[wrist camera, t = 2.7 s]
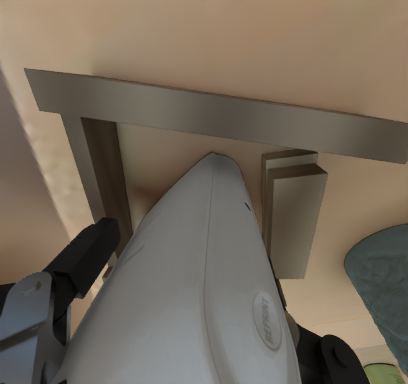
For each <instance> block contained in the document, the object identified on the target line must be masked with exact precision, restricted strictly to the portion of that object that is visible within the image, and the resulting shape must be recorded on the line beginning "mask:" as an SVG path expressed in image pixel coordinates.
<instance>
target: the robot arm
mask: <svg viewBox="0 0 408 384" xmlns="http://www.w3.org/2000/svg"><path fill="white" fill-rule="evenodd" d="M120 240H121V234H120V229H119V225H118V220H117V219H114V218H108V217H102V218H101V219H100V220H99V221H98V222H97V223H96V224H92V225H90V226H88V227H87V228H85V229H83V230H82V231H81V232H80V233H79V234H78V235H77V236H76V238H74V239H73V240H72V241H71V242H70V244H69V245H67V246H66V248H64V249H63V250H62V252H61V253H60V254H59V255H58V256H57V257H56V258H55V259H54V260H53V261H52V262H51V263H50V264H49V265H48V266H47V267H46V268H45V269H44V270H42V271H41V272H36V273H32V274H30V275H28V276H26V277H24V278H22V279H21V280H19V281H18V282H17V283H10V284H5V285H0V384H51V382H52V380H53V379H54V377H55V376H56V374H57V373H58V371H59V370H60V369H61V366H62V363H63V360H64V357H65V354H66V352H67V349H68V346H69V344H70V319H71V318H70V317H71V306H70V303H71V302H72V301H73V299H74V298H80V299H83V298H84V297H85V295H86V294H87V292H88V291H89V289H90V288H91V286H92V285H93V283H94V282H95V280H96V279H97V277H98V276H99V274H100V272H101V271H102V269H103V268H104V266H105V265H106V263H107V262H108V260H109V259H110V257H111V256H112V254H113V253H114V251H115V250H116V248H117V247H118V245H119V243H120ZM267 257H268V260H269V263H270V266H271V270H272V273H273V277H274V280H275V283H276V287H277V290H278V294H279V297H280V300H281V303H282V307H283V310H284V314H285V317H286V320H287V324H288V327H289V330H290V334H291V337H292V341H293V344H294V347H295V351H296V355H297V359H298V366H299V372H300V378H301V384H370V382H369V380H368V378H367V376H366V373H365V371H364V369H363V367H362V365H361V363H360V361H359V359H358V357H357V356H356V354H355V352H354V351H353V350H352V349H351V348H350V346H349V345H348V344H346V343H345V342H344V341H343V340H342V339H340V338H338V337H337V336H334V335H325V336H323V337H320V336H318V335H316V334H315V333H313V332H311V331H309V330H307V329H305V328H303V327H301V326H300V325H299V324H297V323H296V322H295V320H294V319H293V317H292V316H291V315H290V314H289V313H288V312H287V310H286V308H285V305H284V302H283V299H282V296H281V292H280V289H279V285H278V282H277V279H276V277H275V272H274V269H273V265H272V262H271V259H270V257H269V256H268V254H267ZM58 384H67V380H66V379H65V380H63V381H61V382H59V383H58Z"/></svg>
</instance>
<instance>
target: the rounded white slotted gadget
mask: <svg viewBox="0 0 408 384" xmlns="http://www.w3.org/2000/svg"><path fill="white" fill-rule="evenodd" d="M65 379H66V380H67V384H301V378H300V372H299V366H298V359H297V355H296V351H295V347H294V344H293V341H292V337H291V334H290V330H289V327H288V324H287V320H286V317H285V314H284V310H283V307H282V303H281V300H280V297H279V294H278V290H277V287H276V283H275V280H274V277H273V273H272V270H271V266H270V263H269V260H268V257H267V253H266V250H265V247H264V243H263V240H262V236H261V233H260V229H259V226H258V223H257V219H256V216H255V212H254V209H253V206H252V202H251V199H250V195H249V192H248V189H247V186H246V184H245V183H244V180H243V177H242V173H241V170H240V168H239V166H238V165H237V164H236V163H235V162H234V161H233V160H232V159H230V158H228V157H226V156H223V155H216V154H215V153H214V152H213V153H211V154H209V155H207V156H206V157H204V158H203V159H202V160H200V161H199V162H198V163H197V164H196V165H194V166H193V167H192V168H191V169H190V170H189V171H188V172H187V173H186V174H185V175H184V176H183V177H182V178H181V179H180V180H179V181H177V182H176V183H175V184H174V185H173V186H172V187H171V188H170V189H169V190H168V192H167V193H166V194H165V195H164V196H163V197H162V198H161V199H160V200H159V201H158V202H157V203H156V204H155V205H154V206H153V207H152V209H151V210H150V211H149V212H148V213H147V214H146V215H145V217H144V218H143V219H142V221H141V223H140V224H139V226H138V227H137V229H136V231H135V232H134V234H133V235H132V237H131V239H130V240H129V242H128V244H127V245H126V247H125V249H124V250H123V252H122V253H121V255H120V257H119V258H118V260H117V262H116V263H115V265H114V267H113V268H112V270H111V272H110V273H109V275H108V277H107V278H106V280H105V282H104V283H103V285H102V287H101V288H100V290H99V292H98V293H97V295H96V297H95V298H94V300H93V302H92V303H91V305H90V307H89V309H88V310H87V312H86V314H85V315H84V317H83V319H82V320H81V322H80V324H79V325H78V327H77V329H76V330H75V332H74V334H73V335H72V337H71V339H70V344H69V346H68V349H67V352H66V354H65V357H64V360H63V363H62V366H61V369H60V370H59V371H58V373H57V374H56V376H55V377H54V379H53V380H52V382H51V384H58V383H59V382H61V381H63V380H65Z"/></svg>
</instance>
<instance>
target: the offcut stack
mask: <svg viewBox="0 0 408 384" xmlns="http://www.w3.org/2000/svg"><path fill="white" fill-rule="evenodd" d="M317 158H318V153H317V152H315V151H311V150H304V149H294V150H287V151H280V152H273V153H266V154H262V240H263V243H264V247H265V250H266V253H267V254H268V256H269V257H270V259H271V262H272V265H273V269H274V272H275V277H276V279H304V276H305V271H306V267H307V263H308V258H309V254H310V250H311V245H312V241H313V237H314V232H315V228H316V224H317V219H318V215H319V211H320V206H321V202H322V198H323V193H324V189H325V185H326V180H327V176H328V173H327V172H326V171H324V170H323V169H322V168H321V167H319V166H318V165H317V164H316V163H317Z"/></svg>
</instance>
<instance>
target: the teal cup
mask: <svg viewBox="0 0 408 384" xmlns="http://www.w3.org/2000/svg"><path fill="white" fill-rule="evenodd" d="M344 267H345V270H346V272H347V274H348V276H349V278H350V280H351V281H352V283H353V285H354V287H355V288H356V290H357V292H358V293H359V295H360V296H361V298H362V300H363V302H364V304H365V306H366V308H367V309H368V311H369V313H370V314H371V316H372V318H373V320H374V323H375V324H376V325H377V327H378V329H379V331H380V332H381V334H382V335H383V337H384V338H385V341H386V343H387V345H388V347H389V349H390V350H391V352H392V354H393V355H394V356H395V358H396V359H397V360H398V364H399V366H400V368H401V369H402V371H403V373H404V374H405V375H406V376H407V377H408V224H404V225H398V226H394V227H391V228H388V229H385V230H382V231H380V232H377V233H375V234H373V235H371V236H369V237H367V238H365V239H364V240H362V241H360V242H359V243H358V244H357V245H355V246H354V247H353V248H352V249H351V250H350V252H349V253H348V254H347V256H346V258H345V262H344Z"/></svg>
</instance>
